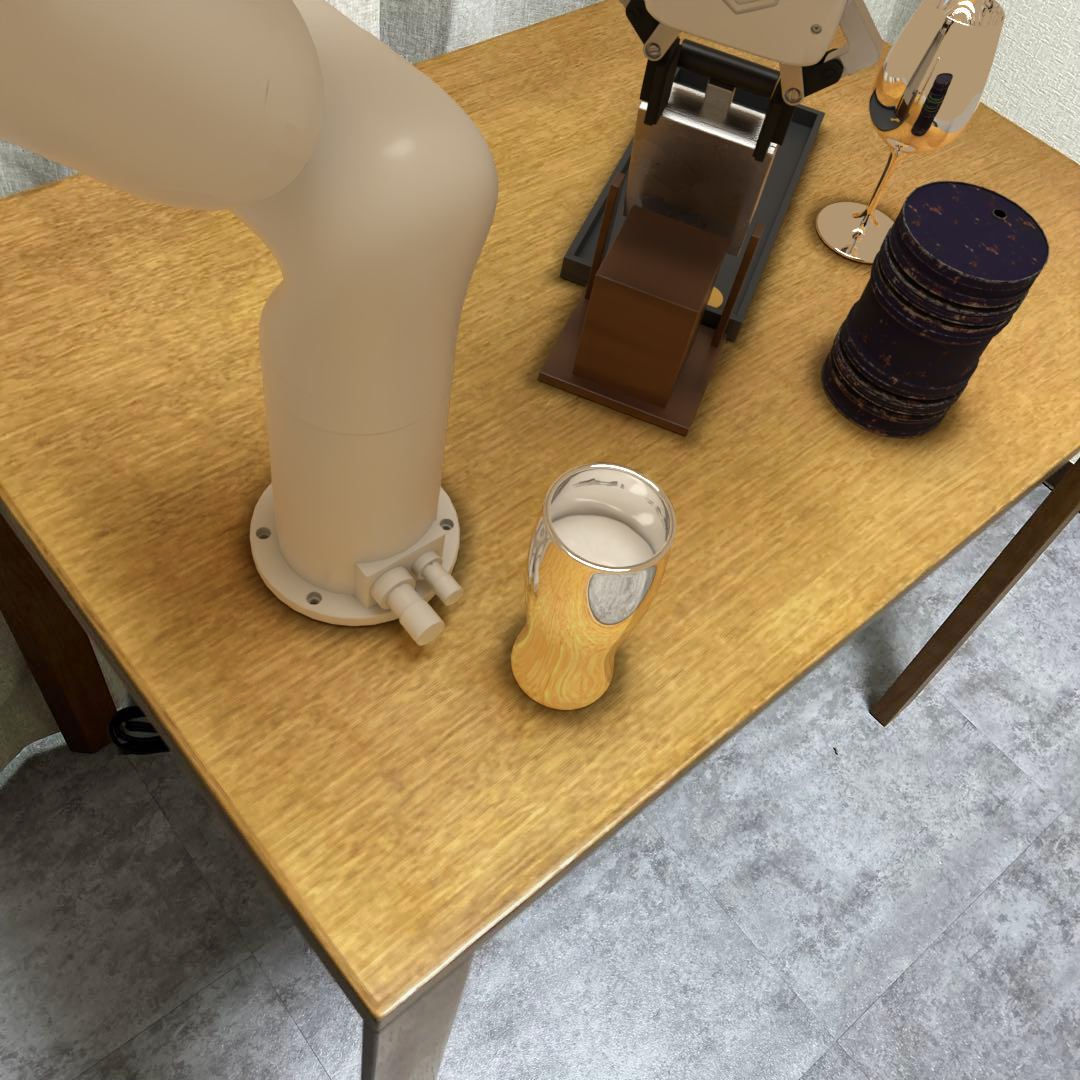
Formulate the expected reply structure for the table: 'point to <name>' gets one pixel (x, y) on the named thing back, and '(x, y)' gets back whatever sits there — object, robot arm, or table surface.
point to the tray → (767, 212)
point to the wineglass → (919, 105)
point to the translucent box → (704, 148)
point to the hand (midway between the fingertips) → (709, 127)
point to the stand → (647, 318)
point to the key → (715, 298)
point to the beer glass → (589, 579)
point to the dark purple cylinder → (932, 306)
